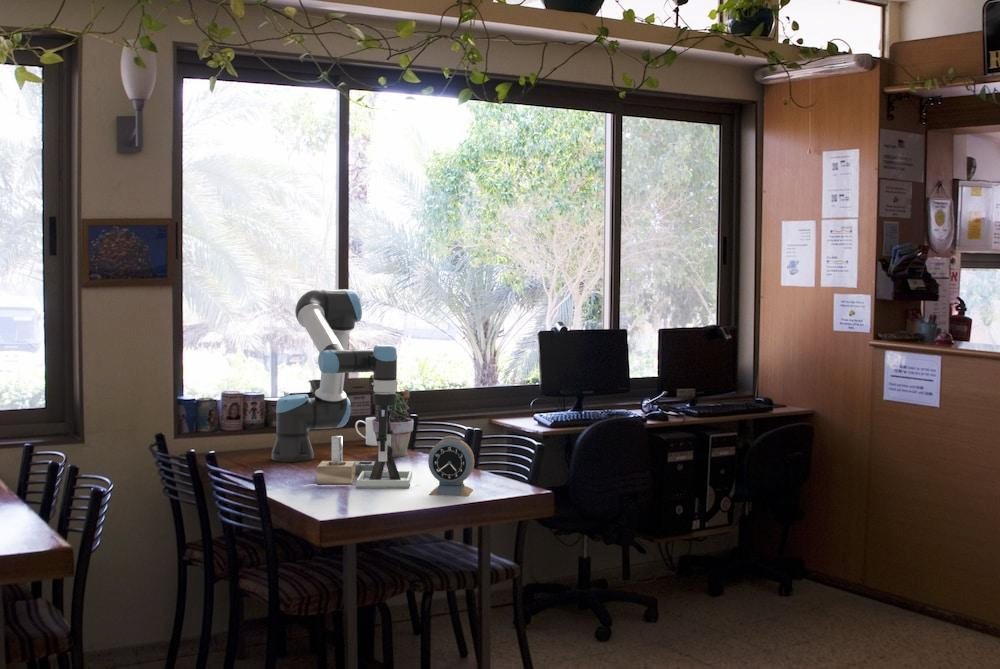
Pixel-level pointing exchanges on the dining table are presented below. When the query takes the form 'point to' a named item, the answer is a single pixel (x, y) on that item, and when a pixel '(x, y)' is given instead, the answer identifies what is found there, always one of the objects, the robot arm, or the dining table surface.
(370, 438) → the white pitcher
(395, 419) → the potted plant
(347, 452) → the dining table surface
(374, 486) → the tray
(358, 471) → the gauge stand
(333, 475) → the bore block
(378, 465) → the dark grey a-frame stand
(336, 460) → the white peg
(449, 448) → the alarm clock
